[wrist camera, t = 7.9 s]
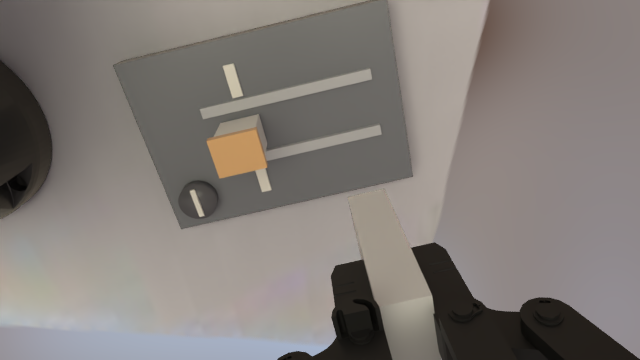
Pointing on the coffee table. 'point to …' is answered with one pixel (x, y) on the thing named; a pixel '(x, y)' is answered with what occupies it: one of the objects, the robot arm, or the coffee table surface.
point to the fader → (239, 146)
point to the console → (275, 111)
